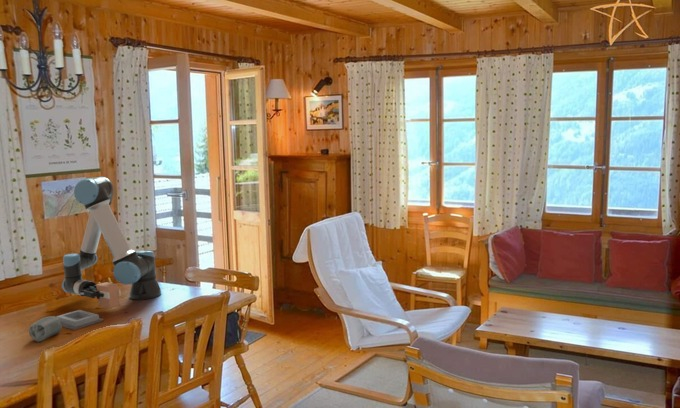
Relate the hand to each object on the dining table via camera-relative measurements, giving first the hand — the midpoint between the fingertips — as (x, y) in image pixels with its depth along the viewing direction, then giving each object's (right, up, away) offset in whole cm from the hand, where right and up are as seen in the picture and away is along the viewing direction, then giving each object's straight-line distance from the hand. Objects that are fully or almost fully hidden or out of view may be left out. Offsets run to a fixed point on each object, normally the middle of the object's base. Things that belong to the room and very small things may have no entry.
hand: (114, 294), depth 269 cm
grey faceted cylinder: (-17, -14, -27) cm, 35 cm away
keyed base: (-13, -11, -9) cm, 19 cm away
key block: (-4, -6, +4) cm, 8 cm away
